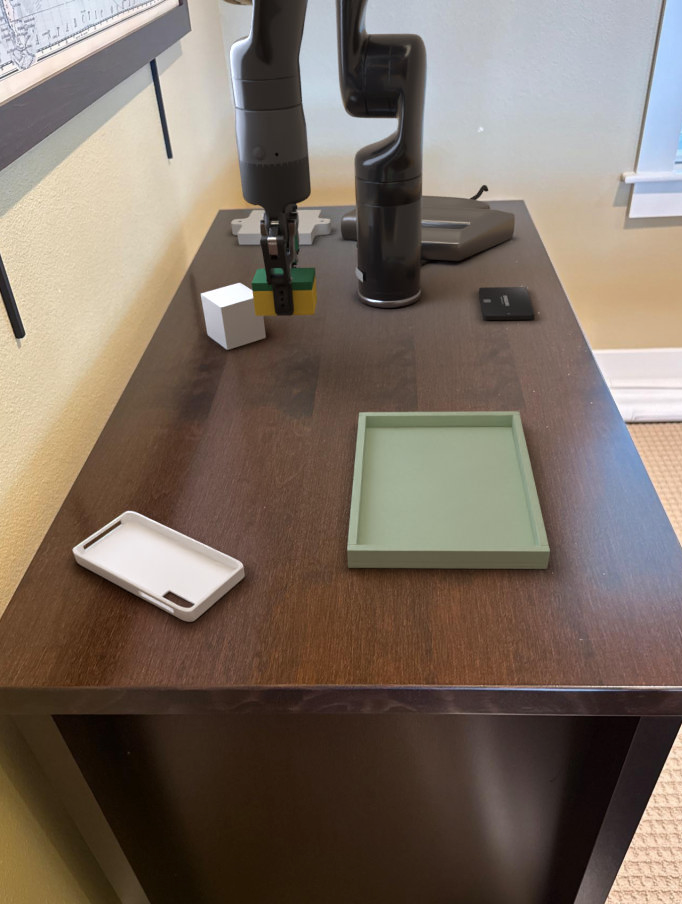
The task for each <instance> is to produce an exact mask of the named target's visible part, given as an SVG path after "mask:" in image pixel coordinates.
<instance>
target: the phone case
mask: <svg viewBox="0 0 682 904" xmlns="http://www.w3.org/2000/svg"><path fill="white" fill-rule="evenodd" d="M118 522H120V524H119V525H117V526H116V527H115V528H113V529H112V530H111V531H109V532H108V533H106V534H105V535H103V536H102V537H100V538H99V539H98V540H96V541H95V542H94V543H92V544H91V545H89V546H87V548H85V547H84V546H86V544H88V543H90V542H91V541H92V540H94V539H96V538H97V537H99V535H101V534H103V533H104V532H106V531H108V529H110V528H111V527H113V526H114V525H115V524H117V523H118ZM72 554H73V556H74V559H75V562H76V563H77V564H78V565H80V566H81V567H83V568H85V569H87V570H88V571H91V572H93V573H94V574H96V575H98V576H100V577H101V578H103V579H106V580H107V581H109V582H111V583H113V584H115V585H116V586H117V587H118V586H119V587H120V588H122V589H124V590H126V591H127V592H129V593H132V594H133V595H135V596H137V597H139V598H140V599H142V600H144V601H146V602H147V603H150V604H152V605H154V606H155V607H158V608H159V609H161V610H163V611H165V612H167V613H168V614H170V615H172V616H174V617H176V618H178V619H180V620H182V621H184V622H188V623H192V622H194V621H196V620H197V619H198V618H200V616H202V615H203V614H204V613H205V612H206V611H207V610H209V609H210V608H211V607H212V606H213V605H214V604H215V603H217V602H218V601H219V600H220V599H221V598H222V597H224V595H226V594H227V593H228V592H229V591H230V590H232V588H234V587H235V586H236V585H237V584H238V583H239V582H241V581H242V580H243V579H244V578H245V576H246V575H245V567H244V564H243V563H242V562H241V561H240V560H238V559H237V558H234V557H232V556H230V555H228V554H226V553H224V552H222V551H219V550H217V549H215V548H214V547H212V546H209V545H207V544H204V543H202V542H200V541H198V540H196V539H194V538H192V537H189V536H188V535H186V534H183V533H182V532H179V531H178V530H175V529H173V528H170V527H169V526H167V525H164V524H162V523H160V522H159V521H155V520H153V519H151V518H149V517H147V516H145V515H143V514H141V513H138V512H137V511H133V510H127V511H124V512H123V513H121V514H120V515H119V516H118V517H116V518H114V519H113V520H112V521H110V522H109V523H107V524H106V525H104V526H103V527H101V528H100V529H98V530H97V531H96V532H94V533H92V534H91V535H89V536H88V537H87V538H86V539H84V540H83V541H81V542H80V543H78V544H77V545H76V546H74V547H73V548H72ZM168 593H171V594H173V595H175V596H177V597H179V598H181V599H183V600H185V601H186V602H188V603H190V604H192V606H190V607H184V606H181V605H178V604H176V603H175V602H173V601H171V600H169V599H167V598H165V597H164V596H166V595H167V594H168Z"/></svg>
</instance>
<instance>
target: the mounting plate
mask: <svg viewBox="0 0 682 904" xmlns="http://www.w3.org/2000/svg"><path fill="white" fill-rule="evenodd" d="M297 212H298V216H299V225H298V233H299V246H300V245H301V246H302V245H303V246H306V245H308V246H309V245H312V244H313V242H314V240H315V238H316V237H317V236H328V235H330V234H331V233H332V225H331V224H332V223H331V219H330V218H326V217H325V218H323V216H322V214H323V213H322V209H297ZM263 213H265V211H264V209H253V210H252V211H251V212H250V214H249V215H248V217H245V218H235V219H232V220H231V222H230V226H231V233H232V235H234V236H237V242H238V245H240V246H249V245H251V246H253V245H254V246H256V245H257V246H258V245H259V246H261V245H260V240H261V233H260V220H263Z"/></svg>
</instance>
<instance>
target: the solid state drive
mask: <svg viewBox="0 0 682 904" xmlns="http://www.w3.org/2000/svg"><path fill="white" fill-rule="evenodd" d="M478 295H479V301H480V306H481V307H480V308H481V312H482V318H483V320H484V321H511V320H512V321H513V320H515V321H517V320H518V321H519V320H521V321H523V320H525V321H526V320H534V319H535V315H536V313H535V310H534V307H533V305H532V304H533V303H532V300H531V297H530V293H529V291H528V287H526V286H495V287H494V286H493V287H492V286H491V287H490V286H489V287H488V286H487V287H479V288H478Z"/></svg>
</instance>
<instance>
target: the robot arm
mask: <svg viewBox="0 0 682 904" xmlns="http://www.w3.org/2000/svg"><path fill="white" fill-rule="evenodd" d="M221 1H223V2H225V3H227V4H230V5H234V6H247V7H248V6H249V7H252V13H251V23H250V30H249V34H248V35H245V36H242V37H240V38H237V39H236V40H235V41H233V43H232V45H231V47H230V50H229V69H230V79H231V88H232V96H233V104H234V105H233V106H234V132H235V134H234V135H235V141H236V150H237V159H238V166H239V175H240V183H241V184H240V185H241V191H242V197H243V199H244V201H245V202H247V203H248V204H250V205H252V206H259V207H261V208H263V210H264V211H265V213H263V220H260V233H261V240H260V245H259V246H261V252H262V259H263V265H264V269H265V272H266V282H267V284H268V285H272V288H273V298H274V307H275V313H276V315H277V316H278V317H287V316H288V317H289V316H293V315H292V314H293V313H294V302H293V290H292V281H293V277H292V268H298V267H297V266H298V263H299V257H298V256H299V254H300V245H299V233H298V225H299V216H298V212H297V210H298V204H300V203H302V202H304V201H306V200H307V199H308V198H309V197H310V196H311V193H312V188H311V171H310V159H309V145H308V144H309V143H308V128H307V121H306V117H305V116H306V115H305V111H304V104H303V103H304V102H303V94H302V93H303V92H302V77H301V76H302V75H301V64H300V54H301V48H302V43H303V38H304V30H305V22H306V15H307V8H308V2H309V0H221ZM334 2H335V3H334V4H335V26H336V48H337V49H336V51H337V52H336V53H337V70H338V71H337V72H338V84H339V93H340V98H341V102H342V106H343V108H344V111H345V112H346V114H347V115H348V116H350V117H352V118H359V119H396V120H397V126H396V129H395V130H394V131H393V132H392V133H390V134H389V135H387V137H384V138H383V139H380V140H378V141H376V142H375V141H374V142H372V143H369V144H367V145H365V146H362V147H361V148H359V149H358V150H357V151H356V153H355V155H354V159H353V166H354V167H353V168H354V169H353V170H354V195H355V209H356V225H357V240H356V250H357V251H356V253H357V267H355V277H357V285H358V288H357V298H358V300H359V301H360V302H362V303H363V304H365V305H367V306H370V307H375V308H383V309H393V308H401V307H405V306H406V307H407V306H409V305H412V304H413V303H414V304H415V303H416V302H418V301H419V300H420V299H421V297H422V286H421V283H422V281H421V280H422V279H421V278H422V277H421V274H422V267H423V266H425V265H427V264H428V263H430V262H431V261H433V259H421V235H422V195H423V169H424V168H423V166H424V165H423V164H424V163H423V162H424V161H423V160H424V159H423V158H424V127H425V126H424V125H425V108H426V94H427V79H428V55H427V48H426V45H425V41H424V40H423V37H421V35H419V34H417V33H367V30H366V17H367V10H368V9H367V8H368V3H369V0H335V1H334ZM484 192H489V187H488V185H486V184H483V185H481V187H480V188H479V190H478V191H477V193H476V194H475V195H473V196H471V197H470V198H469V199H473V200H477V201H478V199H479V198H480V197H481V196H482V195H483V193H484ZM275 268H281V269H283V274H275Z"/></svg>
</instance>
